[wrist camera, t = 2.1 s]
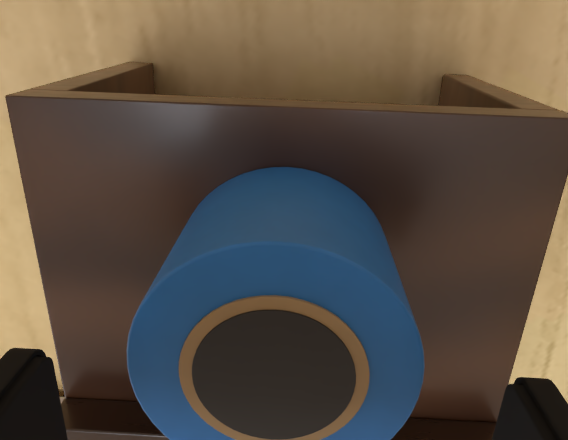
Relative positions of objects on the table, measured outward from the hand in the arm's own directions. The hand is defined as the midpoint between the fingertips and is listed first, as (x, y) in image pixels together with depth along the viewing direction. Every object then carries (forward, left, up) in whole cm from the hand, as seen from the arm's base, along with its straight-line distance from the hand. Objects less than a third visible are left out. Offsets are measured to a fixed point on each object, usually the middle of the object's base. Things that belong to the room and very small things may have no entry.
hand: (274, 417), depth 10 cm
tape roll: (0, 0, -6) cm, 6 cm away
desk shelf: (+1, 0, -16) cm, 16 cm away
